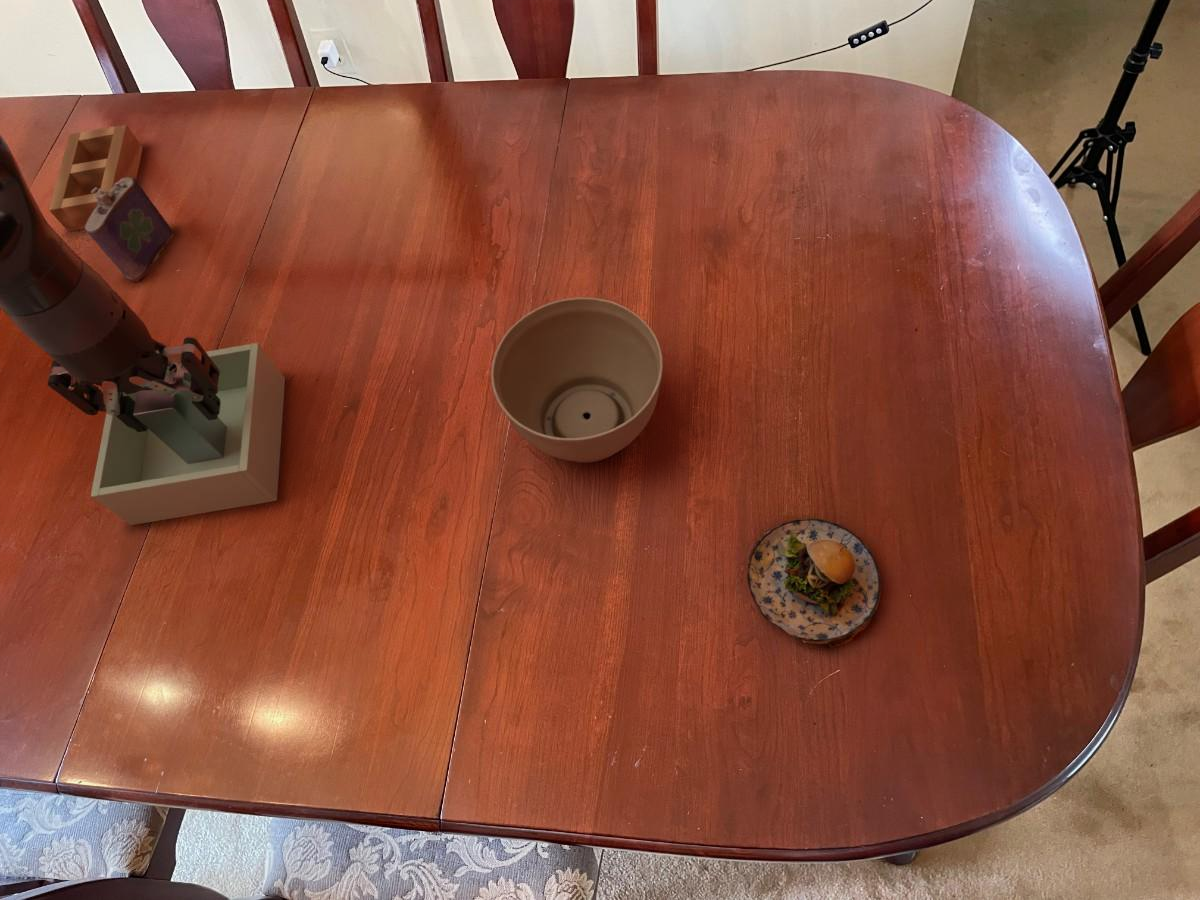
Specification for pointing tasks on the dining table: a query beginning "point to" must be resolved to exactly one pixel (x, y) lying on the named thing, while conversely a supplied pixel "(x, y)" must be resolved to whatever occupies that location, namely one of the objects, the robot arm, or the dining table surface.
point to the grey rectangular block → (181, 425)
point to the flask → (128, 228)
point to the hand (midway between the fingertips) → (179, 418)
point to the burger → (815, 581)
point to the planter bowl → (578, 377)
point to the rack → (92, 171)
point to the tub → (174, 488)
